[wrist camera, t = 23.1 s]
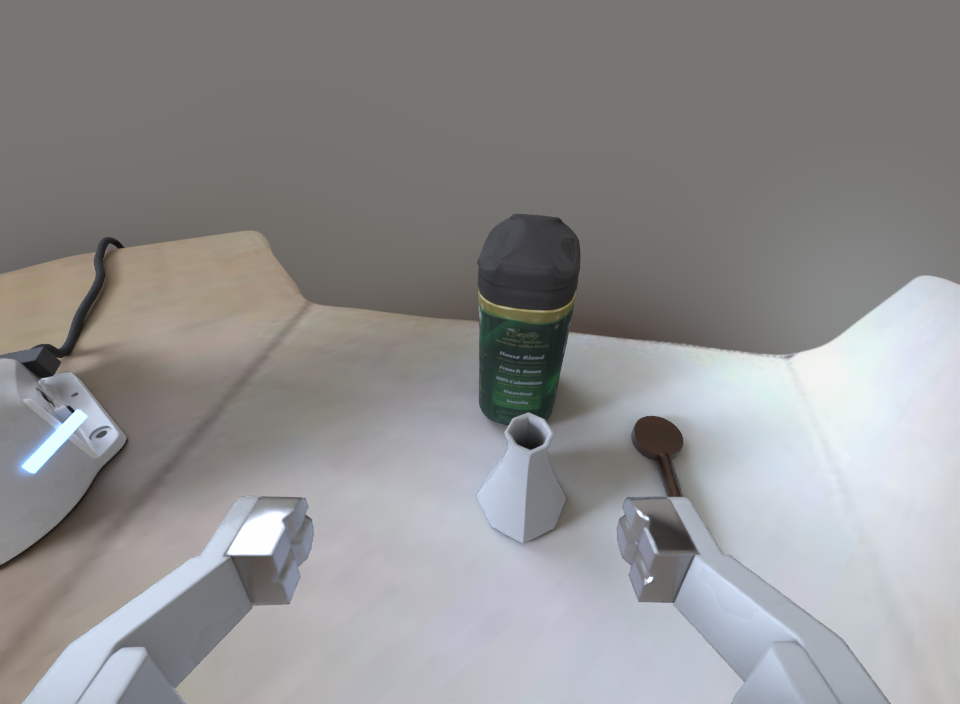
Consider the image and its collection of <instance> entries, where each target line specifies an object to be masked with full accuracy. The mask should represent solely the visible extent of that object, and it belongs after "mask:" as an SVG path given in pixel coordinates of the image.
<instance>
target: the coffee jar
mask: <svg viewBox="0 0 960 704" xmlns="http://www.w3.org/2000/svg"><path fill="white" fill-rule="evenodd" d="M579 245H580V244H579V240H578V238H577V236H576V234H575V233H574V232H573V231H572V230H571V229H570V228H569V227H568V226H567V225H566V224H564V223H563V222H562V220H561V219H560V218H557V217H548V216H539V215H527V214H514V215H512V216H511V217H510V218H508V219H506V220H505V221H503V222H501V223H500V224H498V225H497V226H495V227H494V228H493V229H492V231H491V232H490V233H489V235H488V237H487V239H486V241H485V244H484V246H483V249H482V252H481V254H480V257H479V259H478V266H479V272H478V298H479V361H480V366H479V404H480V408H481V410H482V412H483V413H484V415H485V416H487V417H488V418H489V419H491V420H493V421H495V422H498V423H501V424H505V425H509V424H510V422H511V420H512V419H513V418H515V417H518V416H520V415H523V414H525V413H528V412H529V413H531V414H533V415H536V416H538V417H541V418H543V419H545V420H547V419H548V418H549V416H550V415H551V412H552V408H553V404H554V400H555V396H556V391H557V386H558V381H559V376H560V371H561V366H562V362H563V357H564V353H565V348H566V344H567V339H568V334H569V328H570V323H571V317H572V313H573V307H574V301H575V295H576V290H577V284H578V274H579V269H580V246H579Z"/></svg>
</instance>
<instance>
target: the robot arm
mask: <svg viewBox="0 0 960 704" xmlns="http://www.w3.org/2000/svg"><path fill="white" fill-rule="evenodd" d="M109 243H111V244H113V245H114V246H116V247H117V248H118V249H121V248H125V247H124V246H123V245H122V244H121V243H120V242H119V241H118V240H116V239H114V238H110V237H106V238H103V239H102V240H101V241H100V243H99V245H98V248H97V252H96V254H95V258H94V266H95V270H96V278H95V281H94V283H93V285H92V287H91V289H90V291H89V292H88V294H87V295H86V297H85V298H84V300H83V302H82V303H81V305H80V306H79V308H78V310H77V312H76V314H75V316H74V318H73V321H72V324H71V328H70V331H69V334H68V337H67V339H66V342H65V343H64V345H63V346H62V347H61V348H59V349H57V348H56V347H54V346H52V345H50V344H40V345H37V346H35V347H33V348H31V349H29V350H24V351H19V352H14V353H8V354H3V355H0V565H1V564H3V563H5V562H7V561H8V560H10V559H12V558H13V557H15V556H16V555H18V554H20V553H21V552H22V551H24V550H25V549H27V548H28V547H30V546H31V545H32V544H34V543H35V542H37V541H38V540H39V539H40V538H42V537H43V536H44V535H45V534H47V533H48V532H49V531H50V530H51V529H52V528H54V527H55V526H56V525H57V524H58V523H59V522H60V521H61V520H62V519H63V518H64V517H65V516H66V515H67V514H68V513H69V512H70V511H71V510H72V509H73V508H74V506H75V505H76V504H77V503H78V502H79V500H80V499H81V498H82V496H83V495H84V494H85V492H86V491H87V489H88V488H89V486H90V484H91V483H92V481H93V479H94V478H95V476H96V474H97V473H98V471H99V470H100V469H101V468H102V466H104V465H105V464H106V463H107V462H108V461H109V460H110V459H111V458H112V457H113V456H114V455H115V454H116V453H117V452H118V451H119V450H120V449H121V448H122V447H123V445H124V444H125V442H126V436H125V434H124V433H123V432H122V431H121V429H120V428H119V427H118V426H117V424H116V423H115V422H114V421H113V419H112V418H111V417H110V416H109V414H108V413H107V412H106V411H105V409H104V408H103V407H102V406H101V404H100V403H99V402H98V401H97V399H96V398H95V397H94V396H93V394H92V393H91V392H90V391H89V389H88V388H87V387H86V386H85V384H84V383H83V382H82V381H81V380H80V378H78V377H77V376H76V375H74V374H73V373H71V372H61V373H55V372H56V371H57V369H58V367H59V365H60V364H61V361H59V360H58V359H57V358H61V357H63V356H65V355H67V354H69V352H70V351H71V350H72V349H73V347H74V345H75V343H76V341H77V339H78V337H79V334H80V331H81V327H82V324H83V321H84V318H85V316H86V314H87V312H88V310H89V309H90V307H91V305H92V304H93V302H94V300H95V299H96V297H97V296H98V294H99V292H100V290H101V288H102V285H103V282H104V278H105V271H104V267H103V257H104V254H105V250H106V247H107V245H108V244H109ZM56 357H57V358H56ZM622 508H623V510H624V513H625V515H624V516H623V517H621V518H620V519H619V522H618V526H617V540H618V545H619V549H620V552H621V555H622V558H623V559H624V560H625V561H627V562H628V563H629V564H630V565H631V569H630V572H629V577H630V580H631V583H632V585H633V588H634V591H635V594H636V596H637V599H638V602H662V603H674V604H673V605H674V606H675V607H676V608H677V609H678V610H679V611H680V612H681V614H682V615H683V616H684V617H685V618H686V619H687V620H688V621H689V622H690V623H691V624H692V625H693V627H694V628H695V629H696V630H697V631H698V632H699V633H700V634H701V635H702V636H703V637H704V638H705V640H706V641H707V642H708V643H709V644H710V645H711V646H712V647H713V648H714V649H715V650H716V652H717V653H718V654H719V655H720V656H721V657H722V658H723V659H724V660H725V661H726V662H727V663H728V665H729V666H730V667H731V668H732V669H733V670H734V671H735V672H736V673H737V674H738V675H739V676H740V678H741V679H742V680H743V681H744V683H743V685H742V686H741V688H740V689H739V691H738V692H737V693H736V695H735V696H734V698H733V700H732V703H731V704H891V703H890V702H889V701H888V699H887V698H886V697H885V695H884V694H883V693H882V691H881V690H880V688H879V687H878V686H877V684H876V683H875V682H874V680H873V679H872V678H871V676H870V675H869V674H868V672H867V671H866V670H865V668H864V667H863V665H862V664H861V663H860V661H859V660H858V659H857V657H856V656H855V655H854V653H853V652H852V651H851V649H850V648H849V646H848V645H847V644H846V642H845V641H844V640H843V639H842V638H841V637H839V636H838V635H837V634H835V633H834V632H833V631H831V630H830V629H829V628H827V627H826V626H825V625H823V624H822V623H821V622H819V621H818V620H817V619H815V618H814V617H813V616H811V615H810V614H809V613H807V612H806V611H805V610H803V609H802V608H801V607H799V606H798V605H796V604H795V603H794V602H792V601H791V600H790V599H788V598H787V597H786V596H784V595H783V594H782V593H780V592H779V591H778V590H776V589H775V588H774V587H772V586H771V585H770V584H768V583H767V582H766V581H764V580H763V579H762V578H760V577H759V576H758V575H756V574H755V573H753V572H752V571H751V570H749V569H748V568H747V567H745V566H744V565H743V564H741V563H740V562H739V561H737V560H736V559H735V558H733V557H732V556H731V555H724V554H723V553H722V551H721V549H720V548H719V546H718V545H717V543H716V541H715V540H714V538H713V536H712V535H711V533H710V531H709V530H708V528H707V527H706V525H705V523H704V522H703V520H702V518H701V517H700V515H699V514H698V512H697V510H696V509H695V507H694V505H693V504H692V502H691V501H690V500H689V499H688V498H687V497H627V498H626V499H625V500H624V504H623V507H622ZM307 510H308V504H307V501H306V498H301V497H265V496H263V497H256V496H242V497H241V498H239V499H238V500H237V501H236V502H235V503H234V505H233V506H232V508H231V509H230V511H229V513H228V514H227V516H226V517H225V519H224V520H223V522H222V523H221V525H220V526H219V528H218V529H217V531H216V532H215V534H214V536H213V537H212V539H211V540H210V542H209V543H208V545H207V546H206V548H205V549H204V551H203V552H202V554H201V556H198V557H192V558H191V559H189V560H188V561H187V562H185V563H184V564H182V565H181V566H179V567H178V568H177V569H175V570H174V571H172V572H171V573H170V574H168V575H167V576H165V577H164V578H163V579H161V580H160V581H158V582H157V583H156V584H154V585H153V586H151V587H150V588H148V589H147V590H146V591H144V592H143V593H141V594H140V595H139V596H137V597H136V598H134V599H133V600H132V601H130V602H129V603H127V604H126V605H124V606H123V607H122V608H120V609H119V610H117V611H116V612H115V613H113V614H112V615H110V616H109V617H108V618H106V619H105V620H103V621H102V622H101V623H99V624H98V625H96V626H95V627H93V628H92V629H91V630H89V631H88V632H86V633H85V634H84V635H82V636H81V637H79V638H78V639H77V640H75V641H74V642H72V643H71V644H70V645H68V646H67V648H66V649H65V650H64V651H63V653H62V654H61V655H60V656H59V658H58V659H57V660H56V661H55V663H54V664H53V665H52V666H51V668H50V669H49V670H48V671H47V673H46V674H45V675H44V677H43V678H42V679H41V680H40V682H39V683H38V684H37V685H36V687H35V688H34V689H33V690H32V692H31V693H30V694H29V695H28V697H27V698H26V699H25V700H24V702H23V703H22V704H185V702H184V701H183V699H182V698H181V697H180V695H179V694H178V693H177V691H176V690H175V688H176V687H177V686H178V685H179V684H180V683H181V682H182V681H183V680H184V679H185V678H186V677H187V675H188V674H189V673H190V672H191V671H192V670H193V669H194V668H195V667H196V666H197V665H198V664H199V663H200V662H201V661H202V660H203V659H204V658H205V657H206V656H207V655H208V654H209V653H210V652H211V651H212V649H213V648H214V647H215V646H216V645H217V644H218V643H219V642H220V641H221V640H222V639H223V638H224V637H225V636H226V635H227V634H228V633H229V632H230V631H231V630H232V629H233V628H234V627H235V626H236V625H237V624H238V622H239V621H240V620H241V619H242V618H243V617H244V616H245V615H246V614H247V613H248V612H249V611H250V610H251V609H252V606H253V605H281V604H290V602H291V599H292V597H293V594H294V591H295V589H296V586H297V584H298V581H299V579H300V573H299V570H298V567H299V566H300V565H301V564H302V563H303V562H304V561H305V560H307V558H308V555H309V553H310V550H311V547H312V541H313V536H314V530H313V523H312V519H311V518H309V517H308V516H307V515H306V512H307Z"/></svg>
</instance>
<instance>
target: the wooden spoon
mask: <svg viewBox="0 0 960 704" xmlns="http://www.w3.org/2000/svg"><path fill="white" fill-rule="evenodd" d="M632 441H633V443H634V445H635V447H636V448H637V449H638V451H639V452H641V453H642V454H643V455H645V456H646V457H648V458H650V459H653V460H657V463H658V466H659V470H660V473H661V476H662V480H663V483H664V487H665V490H666V494H667V497H683V495H682V491H681V488H680V485H679V482H678V479H677V476H676V473H675V469H674V466H673V463H672V460H671V459H673V458H675V457H676V456H677V455H678V453H679V452H680V450H681V448H682V446H683V437H682V434H681V432H680V431H679V429H678V428H677V427H676V426H675V425H674V424H673V423H671V422H670V421H668V420H666V419H664V418H661V417H657V416H646V417H643V418H641V419H639V420H638V421H637V422H636V424H635V426H634V428H633V431H632Z"/></svg>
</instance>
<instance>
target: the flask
mask: <svg viewBox="0 0 960 704" xmlns="http://www.w3.org/2000/svg"><path fill="white" fill-rule="evenodd" d="M505 436H506V438H507V439H508V441H509V442H508V449H507V452H506V454H505V455H504V456H503V457H502V459H501V460H500V461H499V462H498V463H497V464H496V465H495V466H494V467H493V468H492V470H491V471H490V473H489V475H488V477H487V478H486V480H485V482H484V484H483V485H482V487H481V489H480V491H479V492H478V494H477V498H478V500H479V502H480V504H481V506H482V508H483V510H484V513H485V515H486V517H487V519H488V521H489V523H490V525H491V527H493V528H495V529H497V530H499V531H500V532H502V533H504V534H506V535H508V536H510V537H512V538H513V539H515V540H517V541H519V542H521V543H523V544H524V543H526V542H528V541H530V540H532V539H534V538H536V537H538V536H540V535H542V534H544V533H546V532H548V531H550V530H552V529H554V528H555V525H556V523H557V520H558V518H559V516H560V513H561V511H562V508H563V506H564V503H565V501H566V496H565V494H564V492H563V490H562V488H561V486H560V484H559V483H558V481H557V479H556V476H555V474H554V472H553V470H552V468H551V465H550V463H549V459H548V452H547V449H548V446H549V444H550V442H551V440H552V438H553V436H554V432H553V430H552V429H551V427H550V426H549V425H548V423H547V422H546V420H545V419H543V418H541V417H538V416H536V415H533V414H531V413H529V412H528V413H525V414H523V415H520V416H518V417H515V418H513V419H512V420H511V422H510V424H509V426H508V427H507V429H506V431H505Z"/></svg>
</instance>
